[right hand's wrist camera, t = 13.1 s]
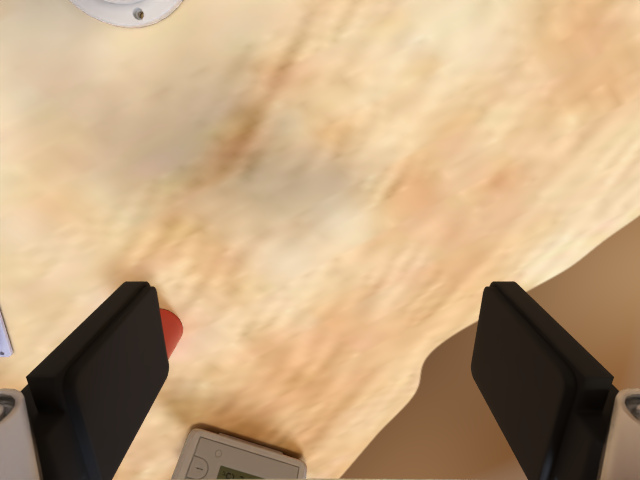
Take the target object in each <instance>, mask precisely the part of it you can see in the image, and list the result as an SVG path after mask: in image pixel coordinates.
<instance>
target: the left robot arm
mask: <svg viewBox="0 0 640 480" xmlns="http://www.w3.org/2000/svg"><path fill="white" fill-rule="evenodd" d="M3 352H4V353H3ZM12 354H13V351H12V347H11V344H10V341H9V338H8V334H7V331H6V328H5V325H4V321H3V318H2V315H1V312H0V357H9V356H11V355H12Z"/></svg>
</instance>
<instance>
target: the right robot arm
mask: <svg viewBox="0 0 640 480" xmlns="http://www.w3.org/2000/svg"><path fill="white" fill-rule="evenodd" d="M70 1H71V2H72V3H73V4H74V5H75V6H76V7H77V8H79V9H80V10H82V11H83V12H85V13H86V14H88V15H89V16H91V17H93V18H96V19H98V20H100V21H102V22H105V23H108V24H111V25H114V26H120V27H127V28H134V27H144V26H148V25H151V24H155V23H157V22H159V21H160V20H162V19H164V18H166V17H168V16H169V15H170V14H171V13H172V12H173V11H174V10H175V9H176V8H177V7H178V6H179V5H180V3H181V2H182V1H183V0H70ZM142 12H143V13H144V16H143V19H141V17H140V14H141V13H142ZM471 371H472V376H473V378H474V380H475V382H476V384H477V386H478V388H479V390H480V391H481V393H482V395H483V397H484V399H485V401H486V403H487V404H488V406H489V408H490V410H491V412H492V414H493V415H494V417H495V419H496V421H497V423H498V425H499V427H500V428H501V430H502V432H503V434H504V436H505V438H506V440H507V441H508V443H509V445H510V447H511V449H512V451H513V452H514V454H515V456H516V458H517V460H518V462H519V464H520V466H521V467H522V469H523V471H524V473H525V475H526V477H527V479H528V480H640V389H625V390H622V391H620V392H619V391H618V390H617V389H616V388H615V387H614V386H613V385H612V381H613V378H614V377H613V376H612V375H611V374H610V373H609V372H608V371H607V370H606V369H605V368H604V367H603V366H602V365H601V364H600V363H599V362H598V361H597V360H596V359H595V358H594V357H593V356H592V355H591V354H590V353H589V352H587V351H586V350H585V349H584V348H583V347H582V346H581V345H580V344H579V343H578V342H577V341H576V340H575V339H574V338H573V337H572V336H571V335H570V334H569V333H568V332H567V331H566V330H565V329H564V328H563V327H562V326H560V325H559V324H558V323H557V322H556V321H555V320H554V319H553V318H552V317H551V316H550V315H549V314H548V313H547V312H546V311H545V310H544V309H543V308H542V307H541V306H540V305H539V304H538V303H537V302H536V301H535V300H534V299H532V298H531V297H530V296H529V295H528V294H527V293H526V292H525V291H524V290H523V289H522V288H521V287H520V286H519V285H518V284H517V283H516V282H492V283H491V284H490V287H485V289H484V291H483V297H482V303H481V309H480V314H479V320H478V327H477V332H476V338H475V344H474V350H473V356H472V362H471ZM168 372H169V362H168V356H167V350H166V344H165V338H164V332H163V326H162V320H161V314H160V309H159V303H158V297H157V291H156V289H155V287H150V284H149V283H148V282H124V283H123V284H122V285H121V286H120V287H119V288H118V289H117V290H116V291H115V292H114V293H113V294H112V295H111V296H110V297H109V298H108V299H106V300H105V301H104V302H103V303H102V304H101V305H100V306H99V307H98V308H97V309H96V310H95V311H94V312H93V313H92V314H91V315H90V316H89V317H88V318H87V319H86V320H85V321H84V322H83V323H82V324H81V325H79V326H78V327H77V328H76V329H75V330H74V331H73V332H72V333H71V334H70V335H69V336H68V337H67V338H66V339H65V340H64V341H63V342H62V343H61V344H60V345H59V346H58V347H57V348H56V349H55V350H54V351H53V352H51V353H50V354H49V355H48V356H47V357H46V358H45V359H44V360H43V361H42V362H41V363H40V364H39V365H38V366H37V367H36V368H35V369H34V370H33V371H32V372H31V373H30V374H29V375H28V376H27V377H26V378H27V381H28V385H27V386H26V387H25V388H24V389H23V390H22V391H21V392H20V391H18V390H15V389H0V480H112V479H113V477H114V475H115V473H116V471H117V469H118V467H119V466H120V464H121V462H122V460H123V458H124V456H125V454H126V453H127V451H128V449H129V447H130V445H131V443H132V441H133V440H134V438H135V436H136V434H137V432H138V430H139V428H140V427H141V425H142V423H143V421H144V419H145V417H146V415H147V414H148V412H149V410H150V408H151V406H152V404H153V403H154V401H155V399H156V397H157V395H158V393H159V391H160V390H161V388H162V386H163V384H164V382H165V380H166V378H167V376H168ZM182 480H457V479H182Z"/></svg>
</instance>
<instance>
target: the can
mask: <svg viewBox="0 0 640 480" xmlns="http://www.w3.org/2000/svg"><path fill="white" fill-rule="evenodd" d="M160 314H161V320H162V326H163V332H164V338H165V344H166V350H167V356H168V359H169V358H170V356H171V354H172V352H173V350H174V349H175V347H176V345H177V343H178V342H179V340H180V338H181V336H182V333H183V327H182V324H181V322H180V320H179V318H178V317H177V316H176V315H174V314H173V313H172V312H170V311H167V310H164V309H160Z"/></svg>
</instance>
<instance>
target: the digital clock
mask: <svg viewBox="0 0 640 480" xmlns="http://www.w3.org/2000/svg"><path fill="white" fill-rule="evenodd" d="M306 473H307V466H306V464H305V463H304V462H303V461H302V460H299V459H296V458H293V457H290V456H286V455H283V452H280V451H277V450H274V449H271V448H267V447H264V446H261V445H258V444H255V443H251V442H248V441H245V440H242V439H239V438H236V437H232V436H229V435H226V434H223V433H219V434H216V433H213V432H210V431H206V430H203V429H199V428H195V429H193V430H191V432H190V433H189V435H188V437H187V439H186V442H185V445H184V447H183V450H182V452H181V455H180V457H179V460H178V463H177V465H176V468H175V470H174V473H173V475H172V478H171V480H182V479H306Z"/></svg>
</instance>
